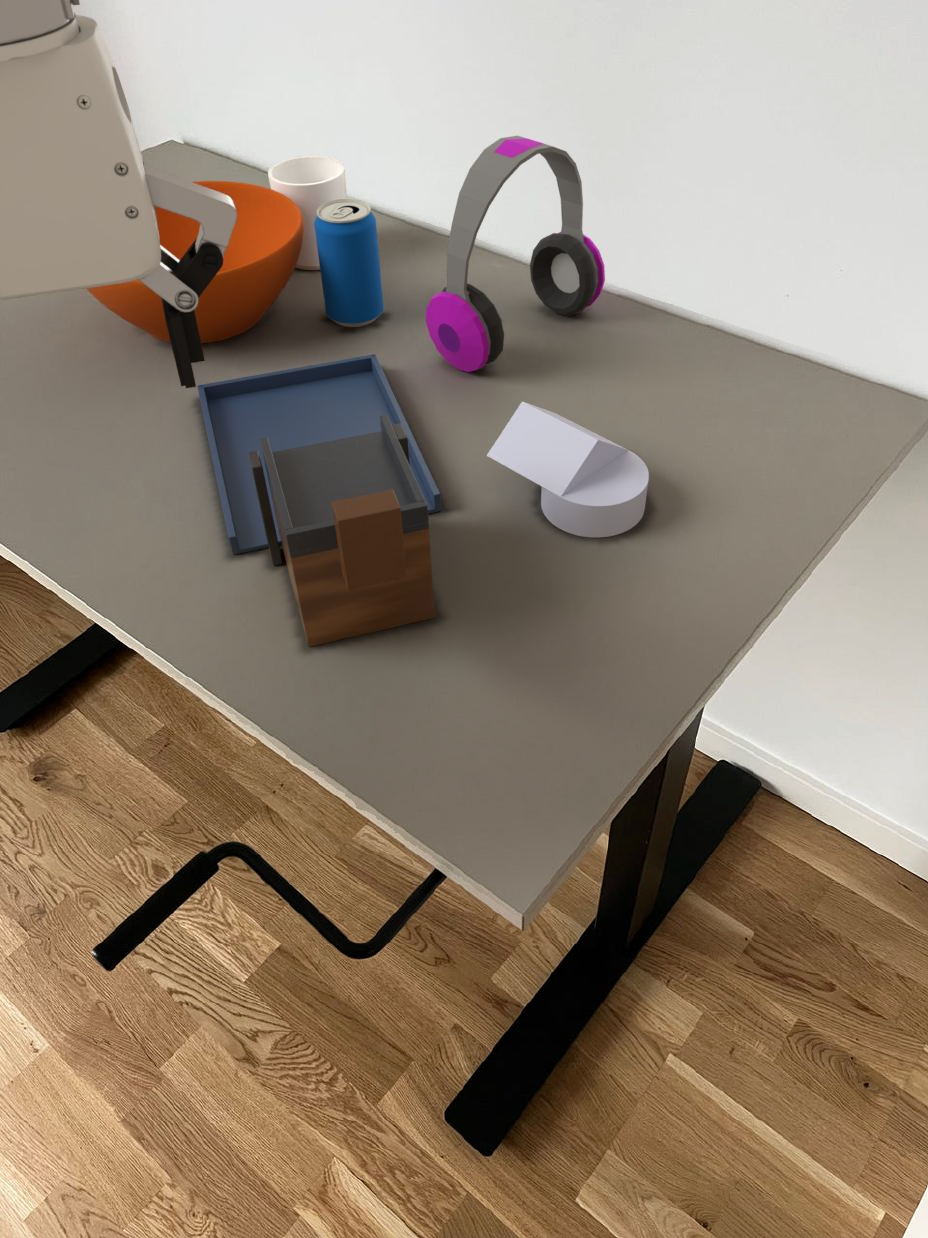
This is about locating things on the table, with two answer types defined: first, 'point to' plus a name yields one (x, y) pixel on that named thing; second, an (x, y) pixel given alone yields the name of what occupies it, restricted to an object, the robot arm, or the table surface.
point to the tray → (294, 430)
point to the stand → (324, 588)
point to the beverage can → (349, 262)
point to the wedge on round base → (574, 472)
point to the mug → (309, 194)
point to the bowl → (246, 276)
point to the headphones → (558, 263)
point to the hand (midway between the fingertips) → (89, 389)
